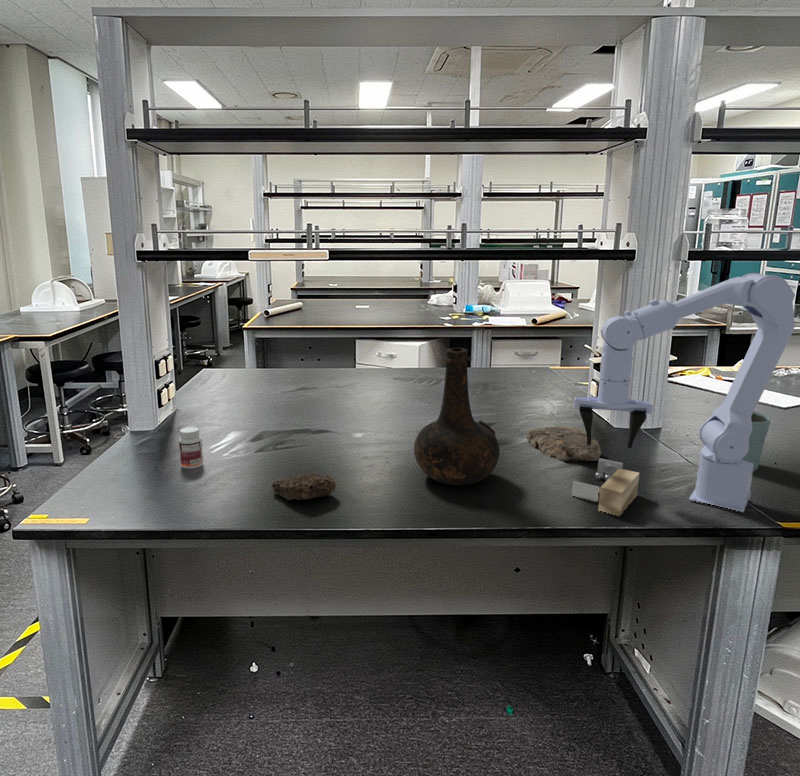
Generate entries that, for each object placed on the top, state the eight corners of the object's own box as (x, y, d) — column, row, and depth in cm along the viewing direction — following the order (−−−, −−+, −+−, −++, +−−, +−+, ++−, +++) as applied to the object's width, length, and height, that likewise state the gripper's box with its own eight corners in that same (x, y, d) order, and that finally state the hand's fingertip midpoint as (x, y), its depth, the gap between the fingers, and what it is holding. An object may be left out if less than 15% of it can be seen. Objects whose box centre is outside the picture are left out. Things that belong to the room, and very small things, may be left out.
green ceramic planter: (731, 455, 145) (738, 406, 142) (772, 469, 137) (781, 418, 134) (702, 461, 141) (709, 412, 138) (744, 476, 132) (752, 424, 129)
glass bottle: (512, 489, 124) (519, 354, 118) (429, 499, 119) (432, 359, 113) (477, 459, 141) (482, 340, 134) (403, 467, 136) (404, 343, 129)
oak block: (637, 496, 122) (639, 472, 121) (619, 517, 113) (622, 492, 111) (616, 491, 124) (619, 468, 123) (598, 511, 115) (600, 487, 114)
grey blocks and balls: (621, 476, 132) (622, 463, 131) (596, 502, 118) (597, 488, 118) (598, 470, 135) (599, 458, 134) (571, 496, 121) (572, 482, 121)
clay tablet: (614, 465, 139) (574, 436, 158) (616, 445, 138) (575, 418, 157) (557, 470, 137) (523, 440, 156) (558, 450, 135) (524, 422, 154)
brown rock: (341, 500, 119) (341, 476, 117) (294, 513, 113) (293, 488, 112) (314, 481, 128) (313, 459, 126) (269, 492, 122) (268, 469, 121)
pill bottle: (185, 461, 138) (182, 426, 136) (206, 461, 138) (203, 426, 136) (177, 469, 134) (174, 432, 132) (198, 469, 133) (196, 433, 131)
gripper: (651, 376, 120) (644, 441, 124) (575, 372, 124) (570, 435, 127) (657, 384, 114) (649, 453, 117) (576, 379, 117) (571, 446, 120)
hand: (608, 445), depth 121 cm, fingers open, 7 cm apart
